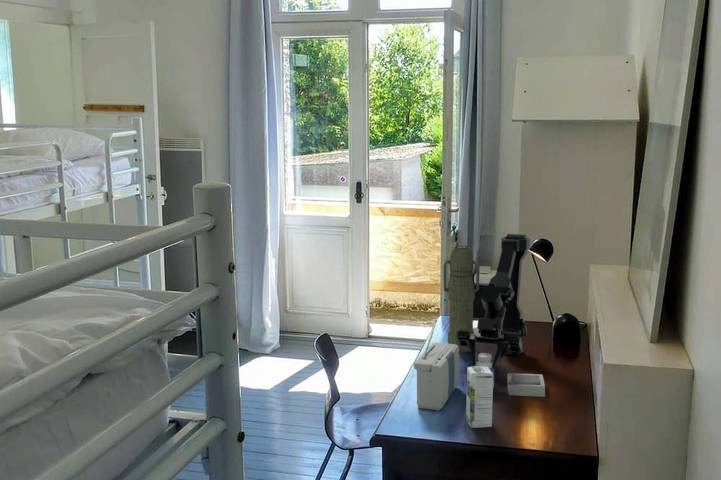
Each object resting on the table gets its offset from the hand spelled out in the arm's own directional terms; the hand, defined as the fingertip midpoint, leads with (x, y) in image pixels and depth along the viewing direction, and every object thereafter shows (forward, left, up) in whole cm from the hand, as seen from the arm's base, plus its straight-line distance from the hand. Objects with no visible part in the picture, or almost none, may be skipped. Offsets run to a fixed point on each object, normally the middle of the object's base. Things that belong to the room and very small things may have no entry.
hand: (483, 366), depth 223 cm
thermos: (-30, -22, -7) cm, 38 cm away
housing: (-5, +11, -7) cm, 14 cm away
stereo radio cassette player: (+13, -8, -7) cm, 17 cm away
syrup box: (+24, +10, -7) cm, 27 cm away
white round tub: (-50, -26, -7) cm, 57 cm away
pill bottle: (-1, 0, -7) cm, 7 cm away
